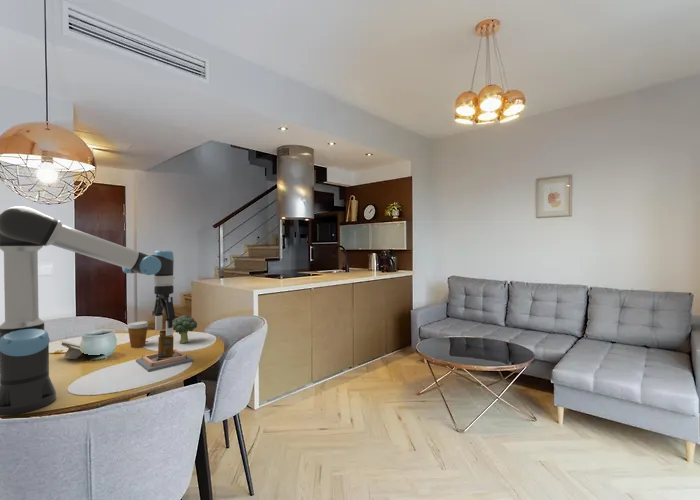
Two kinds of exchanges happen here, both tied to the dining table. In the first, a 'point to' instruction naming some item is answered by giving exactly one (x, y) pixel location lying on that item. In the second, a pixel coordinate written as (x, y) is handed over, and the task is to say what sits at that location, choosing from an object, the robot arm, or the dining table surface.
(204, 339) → the dining table surface
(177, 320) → the vegetable
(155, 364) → the holder
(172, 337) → the condiment
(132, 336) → the disposable coffee cup
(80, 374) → the dining table surface
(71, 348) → the grey angled piece
